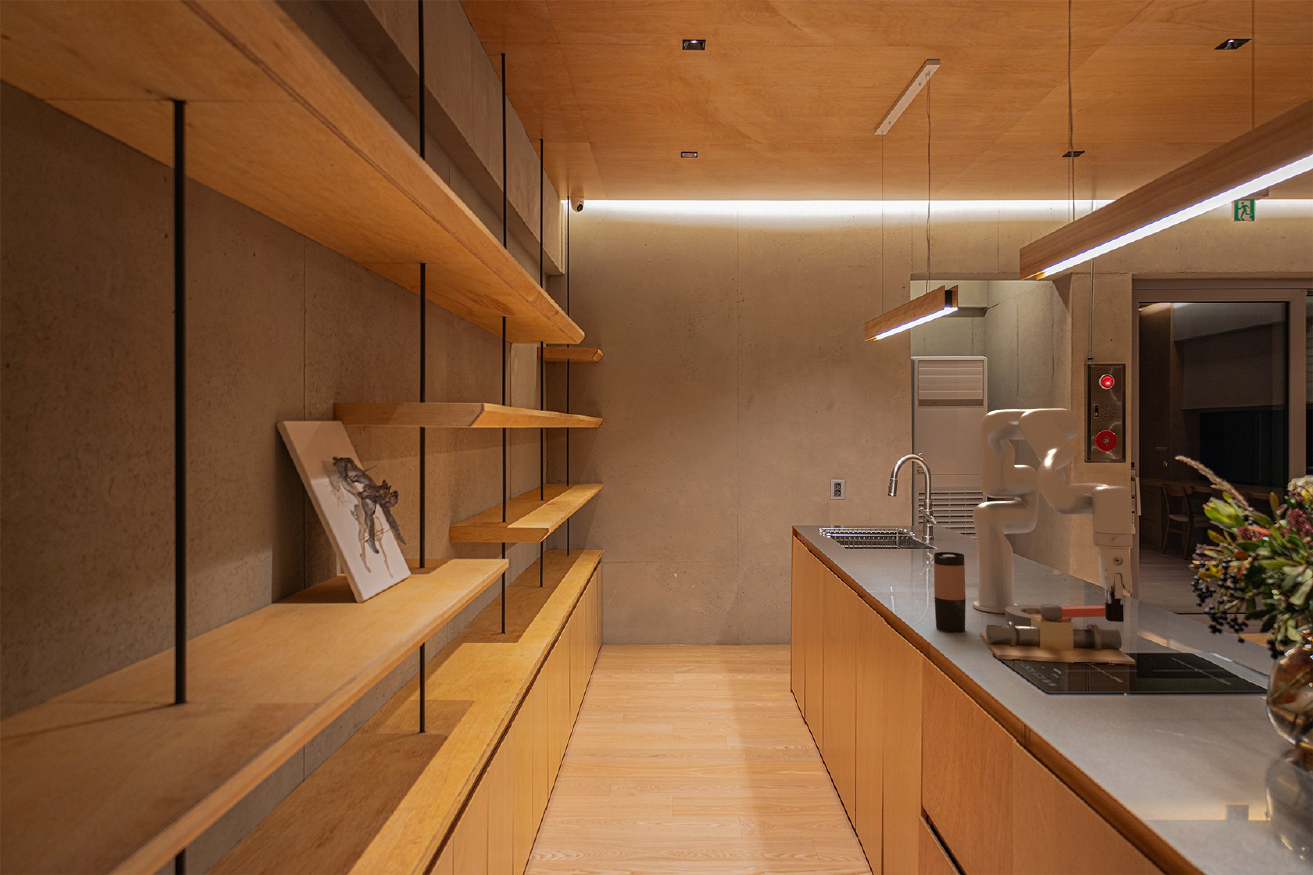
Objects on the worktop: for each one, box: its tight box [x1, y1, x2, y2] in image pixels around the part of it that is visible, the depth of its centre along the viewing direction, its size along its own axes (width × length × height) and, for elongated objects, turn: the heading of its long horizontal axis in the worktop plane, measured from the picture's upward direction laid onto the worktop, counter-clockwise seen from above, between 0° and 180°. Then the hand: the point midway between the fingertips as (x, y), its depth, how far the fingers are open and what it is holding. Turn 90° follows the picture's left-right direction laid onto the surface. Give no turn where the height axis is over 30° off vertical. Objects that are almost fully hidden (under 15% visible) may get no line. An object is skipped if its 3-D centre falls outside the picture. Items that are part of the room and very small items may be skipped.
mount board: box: [979, 632, 1136, 665], centre depth 165 cm, size 28×18×1 cm, turn 77°
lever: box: [1040, 603, 1106, 620], centre depth 165 cm, size 15×4×3 cm, turn 91°
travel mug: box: [933, 551, 967, 634], centre depth 184 cm, size 8×8×20 cm
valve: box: [985, 614, 1123, 651], centre depth 165 cm, size 28×7×8 cm, turn 77°
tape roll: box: [1004, 604, 1073, 626], centre depth 182 cm, size 15×15×5 cm
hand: (1114, 620), depth 158 cm, fingers closed
